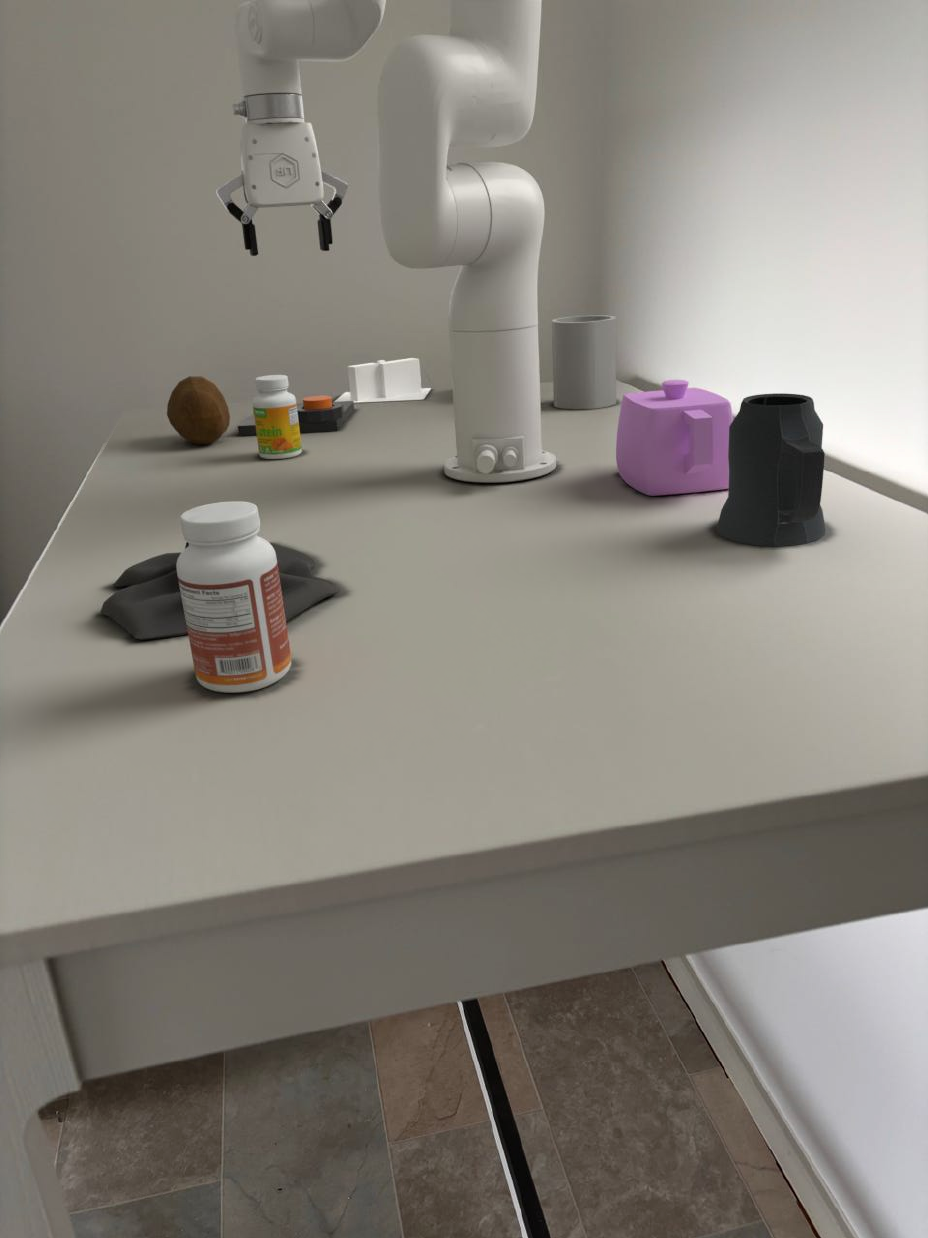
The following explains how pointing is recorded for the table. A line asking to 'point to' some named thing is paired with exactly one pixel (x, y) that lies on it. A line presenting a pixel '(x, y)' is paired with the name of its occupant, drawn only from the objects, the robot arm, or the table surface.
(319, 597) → the cloth
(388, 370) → the napkin holder
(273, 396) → the supplement bottle
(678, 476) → the teapot
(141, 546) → the table surface
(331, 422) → the dark grey button base
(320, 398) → the button
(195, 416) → the potato
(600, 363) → the cup
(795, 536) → the mug
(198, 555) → the pill bottle
